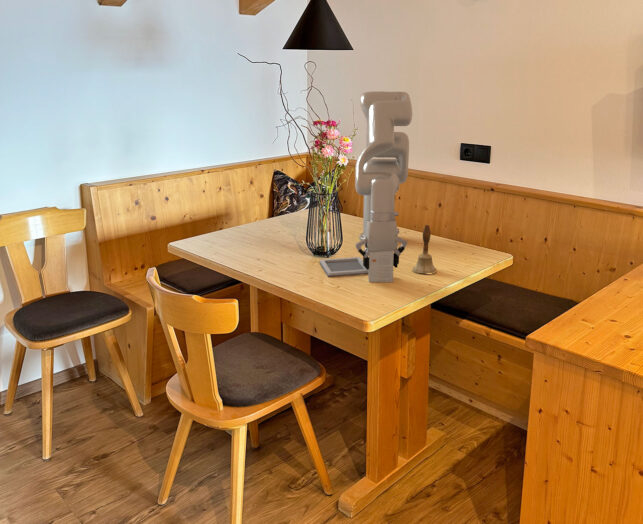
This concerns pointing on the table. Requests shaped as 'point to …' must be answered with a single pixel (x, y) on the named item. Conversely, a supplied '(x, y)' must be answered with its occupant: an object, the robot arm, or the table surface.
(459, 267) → the table surface
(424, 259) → the hand bell
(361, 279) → the table surface
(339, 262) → the docking base
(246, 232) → the table surface
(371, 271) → the small box
